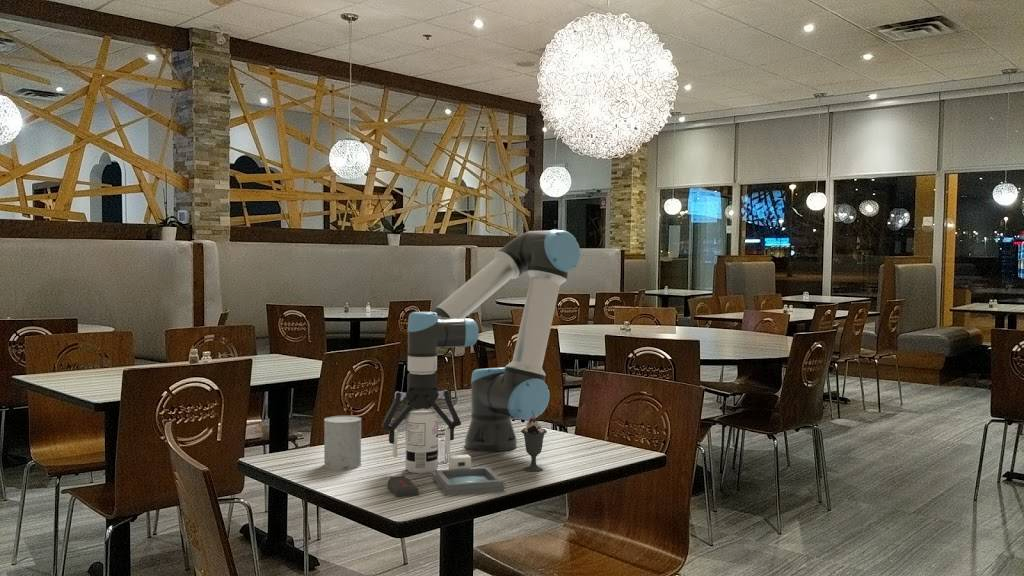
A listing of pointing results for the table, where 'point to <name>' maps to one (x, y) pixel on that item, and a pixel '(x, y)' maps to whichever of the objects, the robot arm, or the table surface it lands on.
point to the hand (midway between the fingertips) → (421, 454)
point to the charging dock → (467, 477)
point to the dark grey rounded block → (402, 486)
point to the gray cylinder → (342, 442)
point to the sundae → (533, 442)
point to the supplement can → (421, 441)
